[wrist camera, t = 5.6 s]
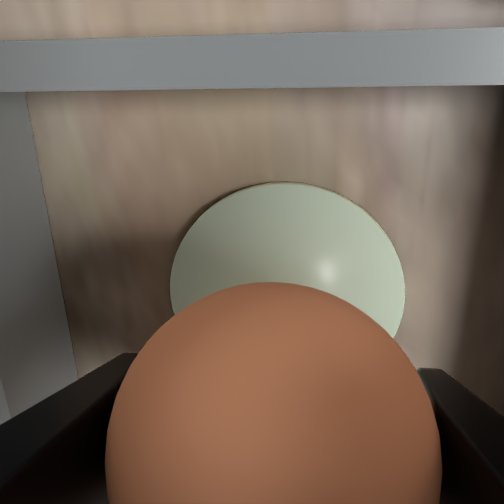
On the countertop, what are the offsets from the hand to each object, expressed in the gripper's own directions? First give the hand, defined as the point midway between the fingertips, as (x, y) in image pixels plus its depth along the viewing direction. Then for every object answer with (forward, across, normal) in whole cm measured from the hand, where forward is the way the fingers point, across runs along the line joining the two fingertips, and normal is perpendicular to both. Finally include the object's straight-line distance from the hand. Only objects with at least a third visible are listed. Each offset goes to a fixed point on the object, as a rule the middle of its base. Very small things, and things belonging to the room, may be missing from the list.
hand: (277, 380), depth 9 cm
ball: (+1, 0, 0) cm, 1 cm away
